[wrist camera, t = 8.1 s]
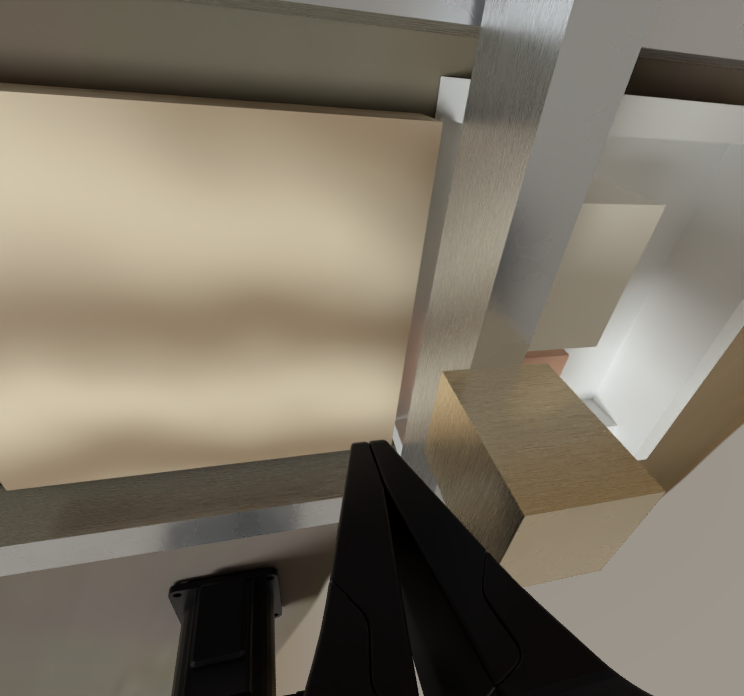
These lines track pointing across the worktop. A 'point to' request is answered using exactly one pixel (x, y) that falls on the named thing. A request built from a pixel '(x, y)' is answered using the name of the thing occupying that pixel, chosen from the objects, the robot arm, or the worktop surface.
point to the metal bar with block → (525, 297)
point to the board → (201, 279)
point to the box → (654, 269)
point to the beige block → (595, 266)
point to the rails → (299, 473)
